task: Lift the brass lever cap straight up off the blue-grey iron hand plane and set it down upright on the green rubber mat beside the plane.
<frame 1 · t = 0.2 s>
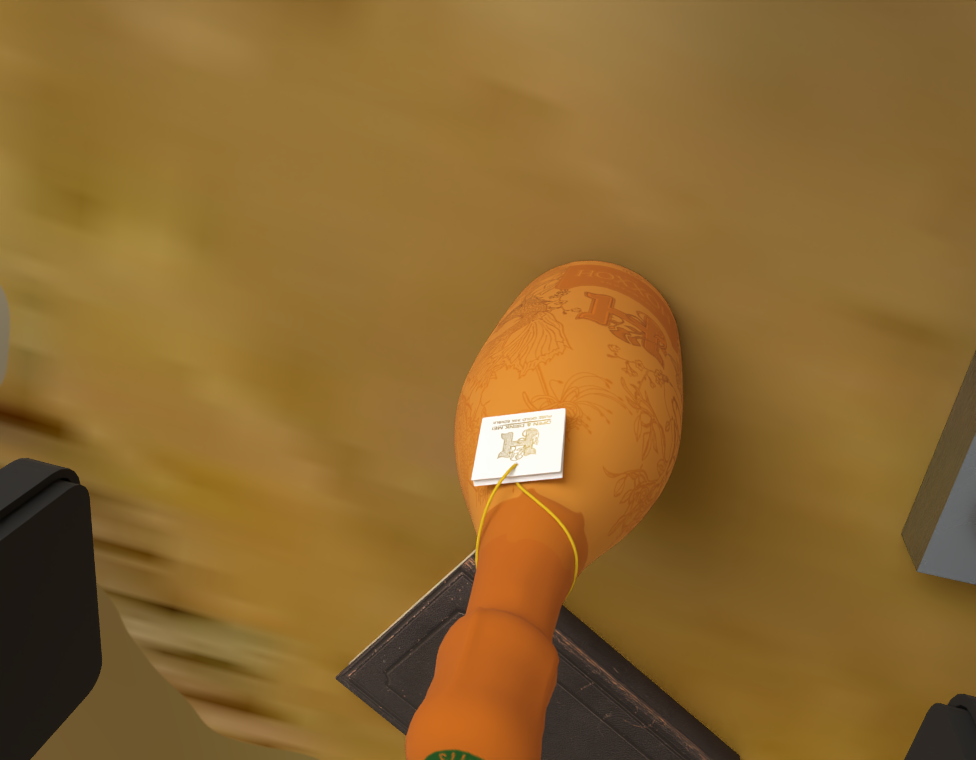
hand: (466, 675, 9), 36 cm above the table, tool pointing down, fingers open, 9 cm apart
hardcover book: (536, 699, 58), on the table
wine bottle: (592, 336, 46), on the table
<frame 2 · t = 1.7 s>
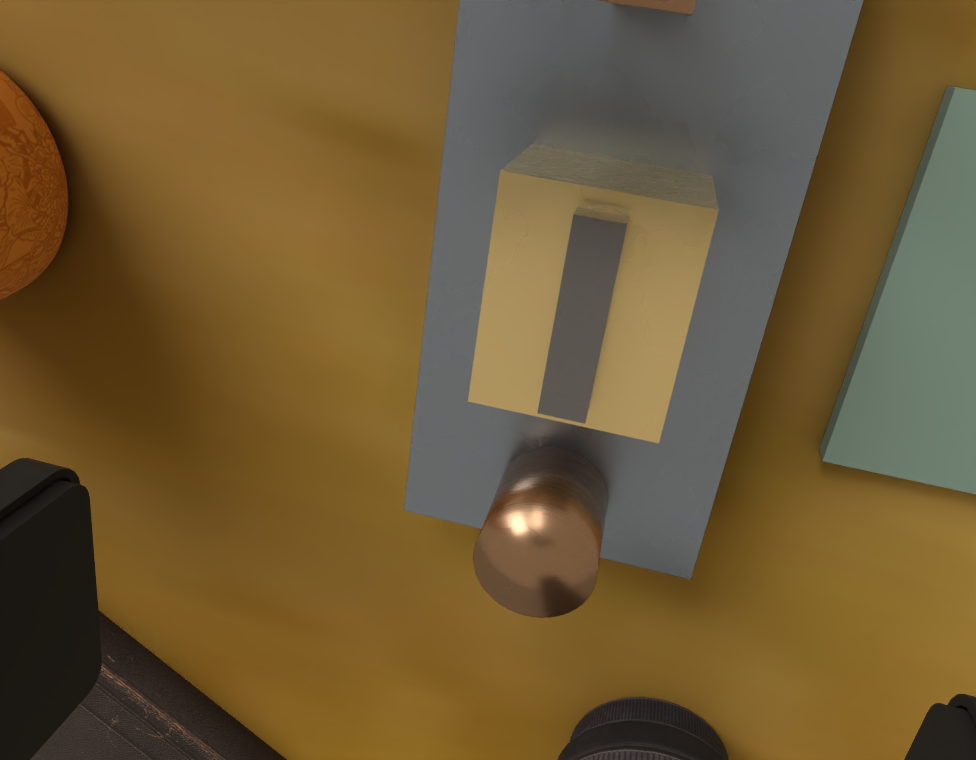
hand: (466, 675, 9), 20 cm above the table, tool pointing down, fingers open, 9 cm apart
hand plane: (609, 235, 27), on the table
lever cap: (599, 263, 24), point 3 cm above the table, touching hand plane
hardcover book: (64, 698, 44), on the table
camera lens: (647, 753, 36), on the table
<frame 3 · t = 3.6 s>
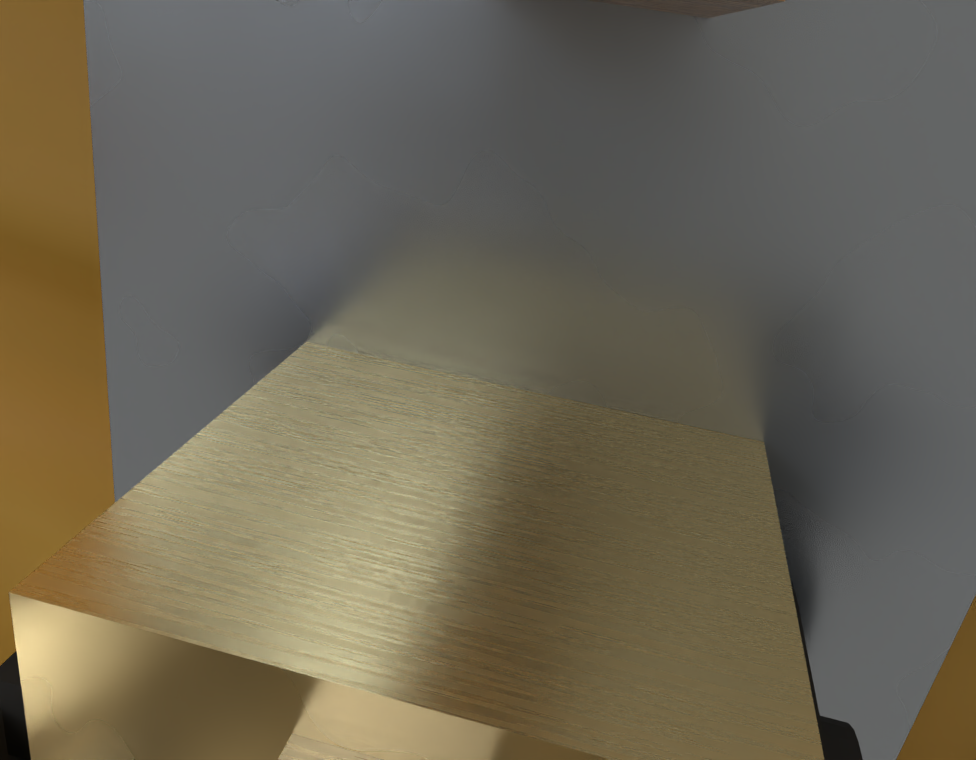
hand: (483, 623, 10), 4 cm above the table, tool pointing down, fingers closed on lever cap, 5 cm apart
hand plane: (534, 470, 13), on the table
lever cap: (487, 610, 10), point 4 cm above the table, touching gripper, hand plane
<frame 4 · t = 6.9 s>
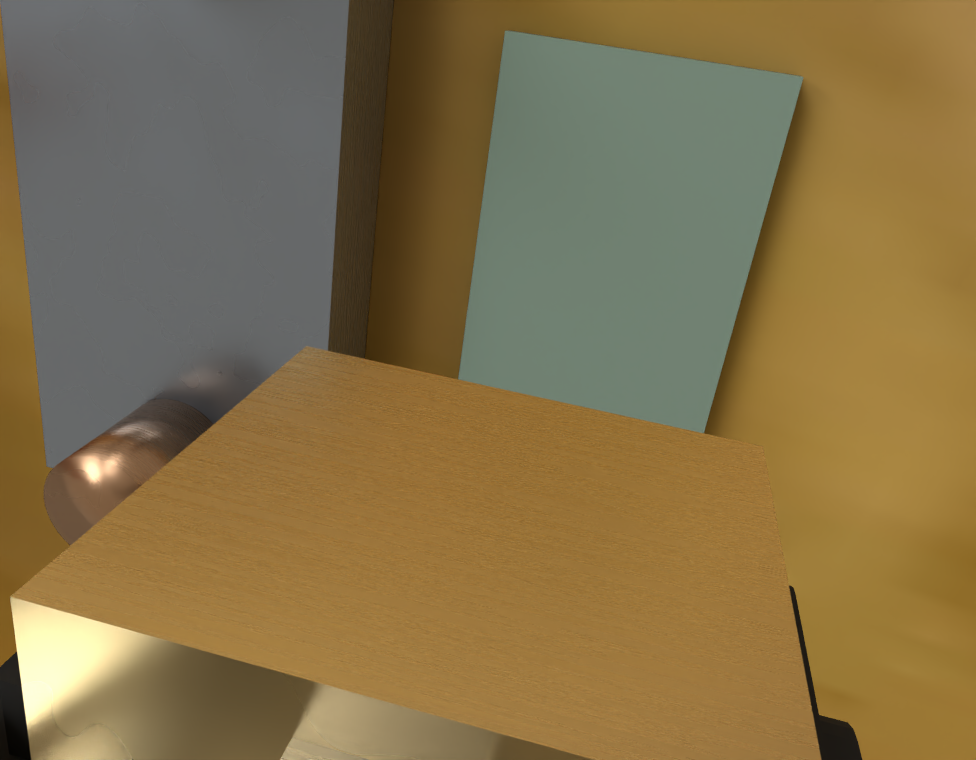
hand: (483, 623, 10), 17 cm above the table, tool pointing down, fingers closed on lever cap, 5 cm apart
rubber mat: (608, 261, 25), on the table
hand plane: (231, 188, 27), on the table
lever cap: (487, 613, 10), point 17 cm above the table, touching gripper
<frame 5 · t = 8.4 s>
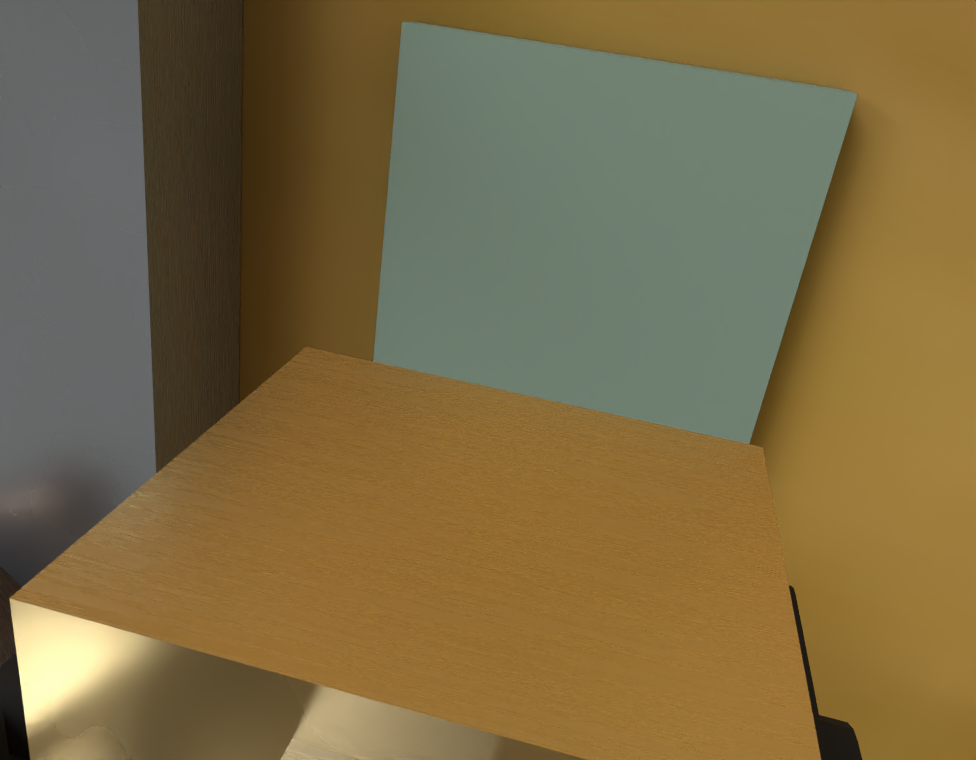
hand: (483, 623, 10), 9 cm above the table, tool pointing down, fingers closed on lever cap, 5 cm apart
rubber mat: (566, 353, 18), on the table
hand plane: (41, 243, 19), on the table
lever cap: (487, 614, 10), point 8 cm above the table, touching gripper
when the fingers open (3 cm above the table, at t = 9.9 s): lever cap drops 2 cm, resting on rubber mat.
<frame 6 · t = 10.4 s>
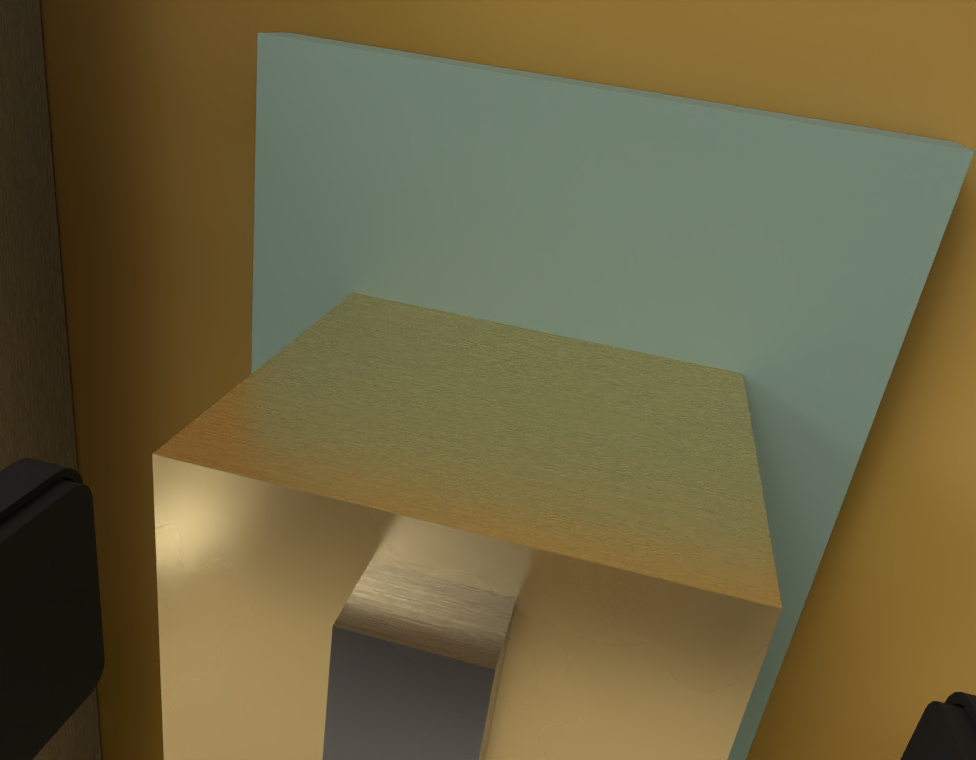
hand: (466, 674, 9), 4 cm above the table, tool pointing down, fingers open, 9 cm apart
rubber mat: (523, 505, 12), on the table
lever cap: (506, 528, 12), point 1 cm above the table, touching rubber mat
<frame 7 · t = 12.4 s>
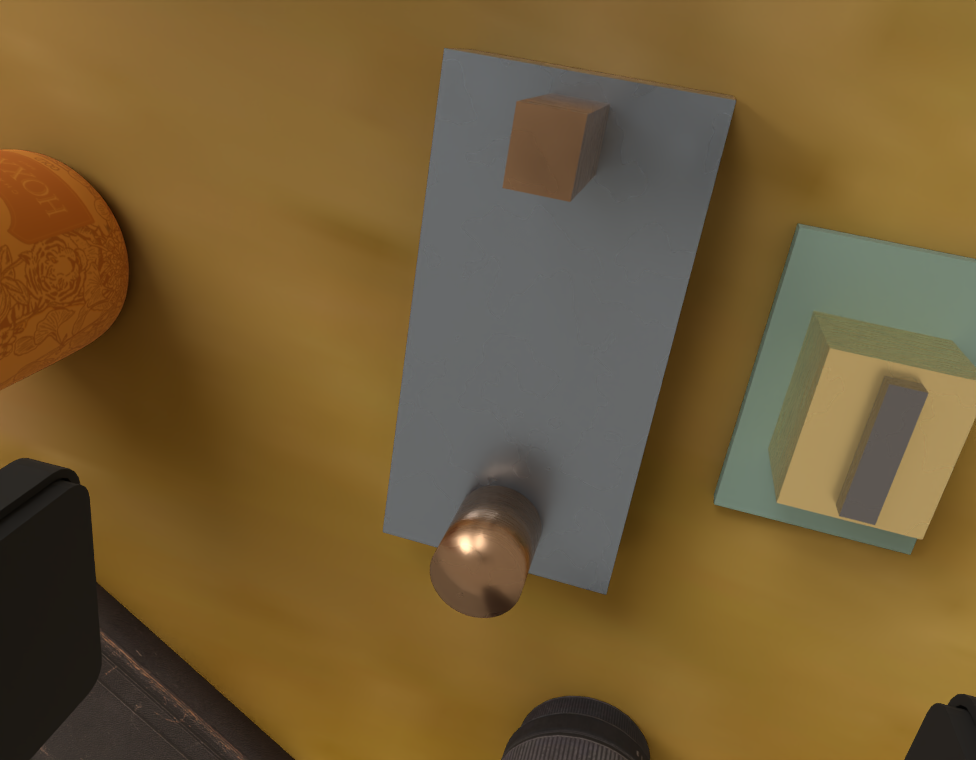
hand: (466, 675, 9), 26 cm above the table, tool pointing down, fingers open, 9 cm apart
rubber mat: (854, 392, 33), on the table
hand plane: (548, 322, 35), on the table
lever cap: (855, 397, 32), point 1 cm above the table, touching rubber mat
hardcover book: (94, 687, 51), on the table
camera lens: (583, 745, 43), on the table
wine bottle: (55, 248, 40), on the table
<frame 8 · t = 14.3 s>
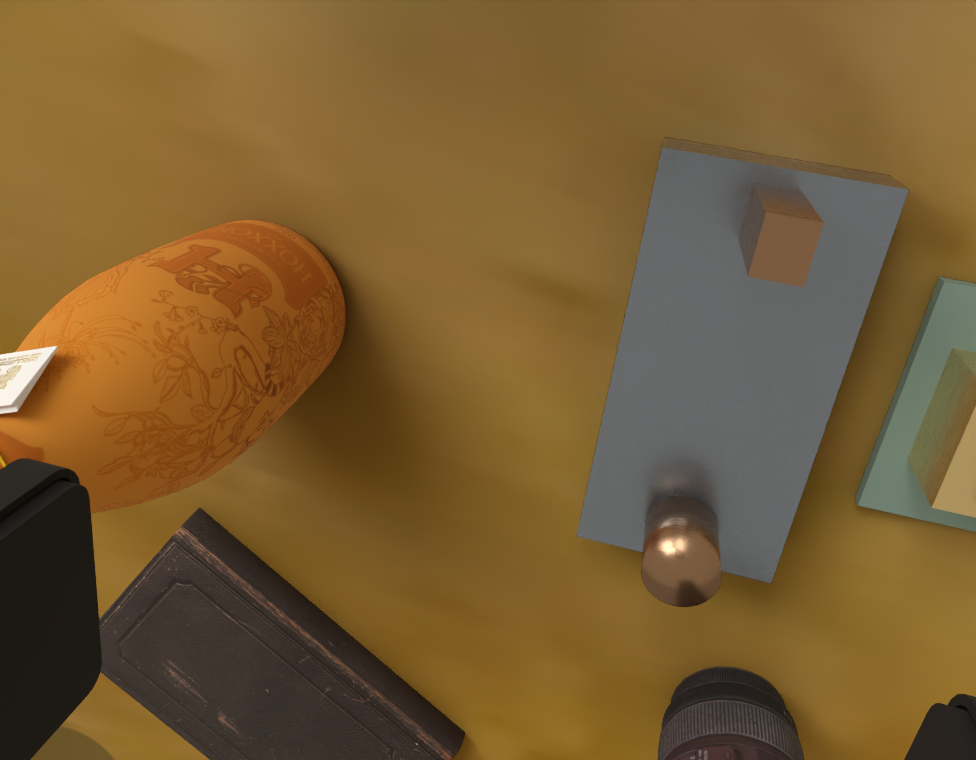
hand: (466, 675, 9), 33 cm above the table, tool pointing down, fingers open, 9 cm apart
hand plane: (718, 357, 42), on the table
hardcover book: (275, 673, 58), on the table
camera lens: (726, 708, 50), on the table
wine bottle: (273, 299, 46), on the table
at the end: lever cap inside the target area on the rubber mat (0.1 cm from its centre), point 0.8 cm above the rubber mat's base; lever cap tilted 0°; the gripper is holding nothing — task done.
